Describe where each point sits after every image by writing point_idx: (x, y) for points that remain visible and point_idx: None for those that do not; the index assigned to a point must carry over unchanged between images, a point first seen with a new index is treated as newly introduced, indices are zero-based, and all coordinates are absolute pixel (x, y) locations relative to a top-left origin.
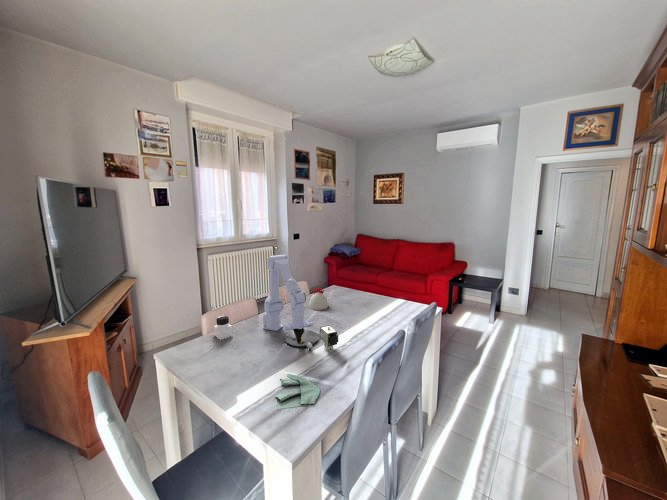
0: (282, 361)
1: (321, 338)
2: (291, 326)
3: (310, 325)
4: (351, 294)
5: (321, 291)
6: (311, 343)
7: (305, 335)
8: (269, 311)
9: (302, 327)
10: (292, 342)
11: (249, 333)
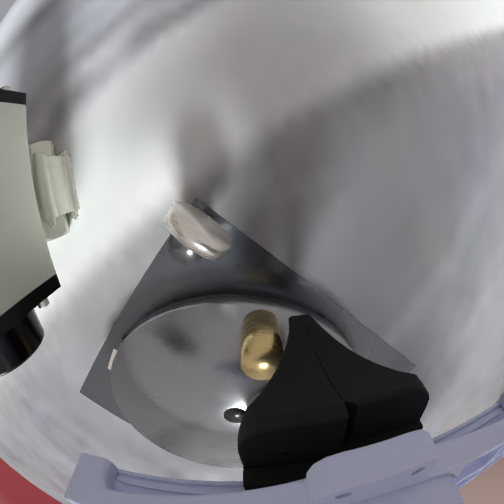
0: (452, 125)
1: (43, 266)
2: (462, 471)
3: (113, 480)
4: (62, 499)
5: None
6: (168, 310)
7: (204, 422)
8: None
9: (326, 486)
10: None
11: None
